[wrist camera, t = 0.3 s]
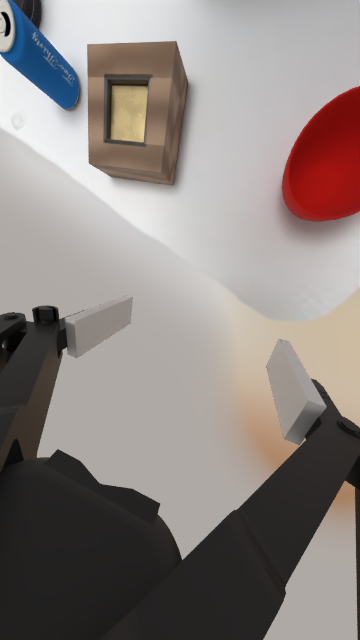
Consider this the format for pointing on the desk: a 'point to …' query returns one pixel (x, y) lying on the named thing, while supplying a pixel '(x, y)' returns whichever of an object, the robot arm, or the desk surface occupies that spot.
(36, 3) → the camera lens
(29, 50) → the beverage can
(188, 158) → the desk surface
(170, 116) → the socket block
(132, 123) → the gold metal plaque
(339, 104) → the ceramic cup
